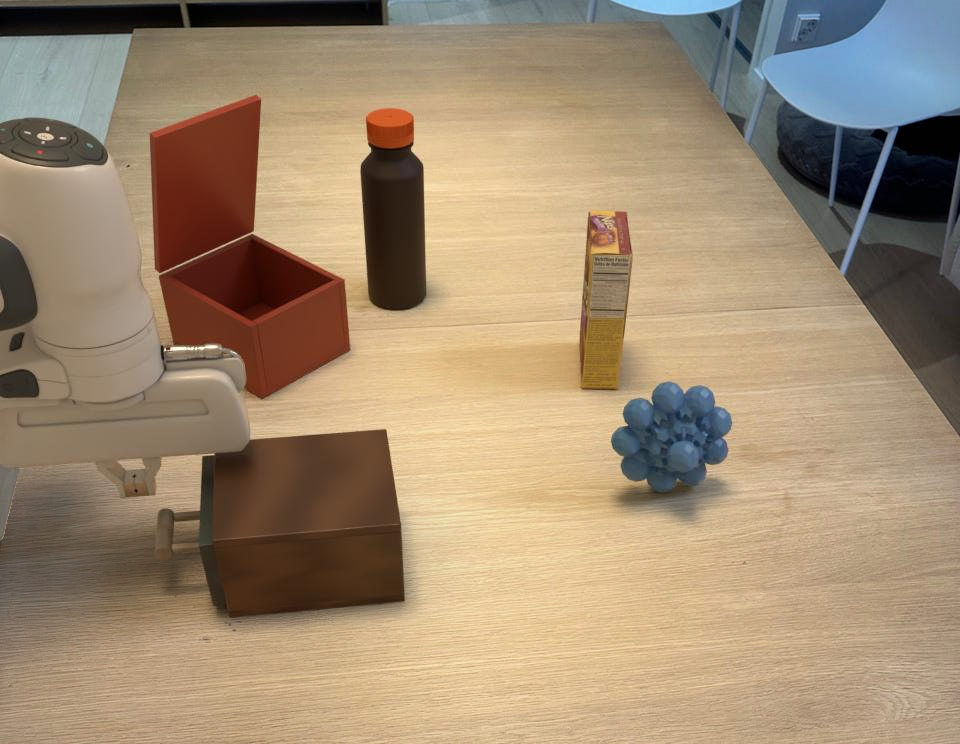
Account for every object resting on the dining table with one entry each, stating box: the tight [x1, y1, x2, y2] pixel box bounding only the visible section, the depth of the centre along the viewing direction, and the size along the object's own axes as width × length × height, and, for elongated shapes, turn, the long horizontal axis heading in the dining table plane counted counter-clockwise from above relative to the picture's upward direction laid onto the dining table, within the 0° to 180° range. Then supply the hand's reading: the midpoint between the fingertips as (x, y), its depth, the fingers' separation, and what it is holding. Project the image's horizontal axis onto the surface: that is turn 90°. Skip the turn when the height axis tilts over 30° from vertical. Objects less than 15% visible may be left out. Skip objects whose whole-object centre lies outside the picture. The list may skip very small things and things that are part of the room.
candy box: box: [578, 210, 634, 390], centre depth 108 cm, size 9×4×15 cm, turn 178°
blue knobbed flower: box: [610, 381, 733, 494], centre depth 95 cm, size 12×7×12 cm, turn 103°
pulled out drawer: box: [154, 454, 227, 607], centre depth 89 cm, size 18×11×7 cm, turn 99°
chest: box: [158, 233, 351, 399], centre depth 112 cm, size 15×13×8 cm
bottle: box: [359, 107, 427, 310], centre depth 116 cm, size 7×7×20 cm
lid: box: [149, 94, 262, 274], centre depth 106 cm, size 15×13×1 cm
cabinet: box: [212, 428, 406, 618], centre depth 89 cm, size 15×13×9 cm
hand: (138, 492), depth 90 cm, fingers closed
